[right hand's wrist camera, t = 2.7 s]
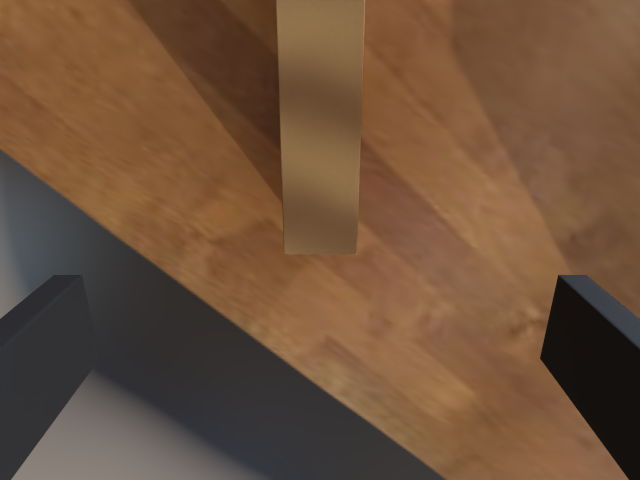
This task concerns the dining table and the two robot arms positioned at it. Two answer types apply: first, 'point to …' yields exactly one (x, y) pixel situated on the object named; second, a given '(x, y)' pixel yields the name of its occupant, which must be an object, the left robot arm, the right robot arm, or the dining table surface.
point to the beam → (320, 122)
